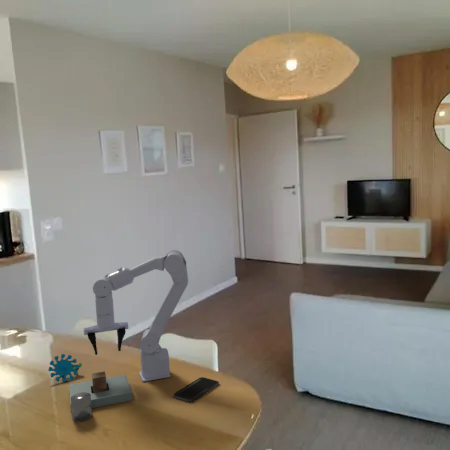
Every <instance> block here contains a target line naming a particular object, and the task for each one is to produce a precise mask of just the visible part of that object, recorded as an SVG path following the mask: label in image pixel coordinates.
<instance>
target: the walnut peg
mask: <svg viewBox="0 0 450 450" xmlns="http://www.w3.org/2000/svg"><path fill="white" fill-rule="evenodd" d="M106 378H107V376H106V371H99V372H94V373H91V381H93V393H98V392H103V391H107V385H106Z"/></svg>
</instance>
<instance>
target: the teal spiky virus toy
mask: <svg viewBox="0 0 450 450" xmlns="http://www.w3.org/2000/svg"><path fill="white" fill-rule="evenodd" d="M65 357H66V354H64V353H62V354H61V356H60V360H59V355H55V356H54V360H50V361H49V365H50V366H49V367H48V372H51V373H50V378H54V377H55V376H56V377H55V381H56V382H60V379H61V378H62V377H63V378H62V380H61V381H62V383H66V382H67V379H68V380H73V379H74V376H76V375H77V374H78V372H79V370H80V368H82V366H83V364H82V363H81V362H80V363H79V364H78V363H77V361H78V360H77V359H76V358H73V355H71V354H68V356H67V357H66V358H65ZM72 358H73V359H72ZM71 359H72V360H71ZM54 361H55V362H56V363H55V362H54ZM76 363H77V364H76ZM52 366H53V367H54V368H53V367H52ZM72 372H73V374H72ZM67 376H69V378H67Z"/></svg>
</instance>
